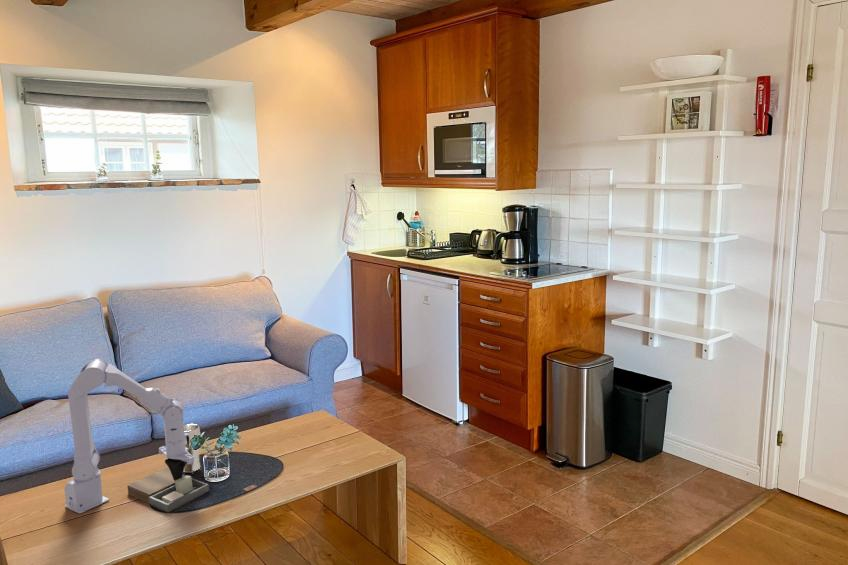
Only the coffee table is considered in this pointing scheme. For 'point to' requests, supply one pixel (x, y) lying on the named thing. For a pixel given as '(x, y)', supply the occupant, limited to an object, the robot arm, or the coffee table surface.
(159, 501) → the box
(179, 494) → the cream tile
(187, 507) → the coffee table surface
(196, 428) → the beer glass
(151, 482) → the walnut board
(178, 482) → the sage tile
